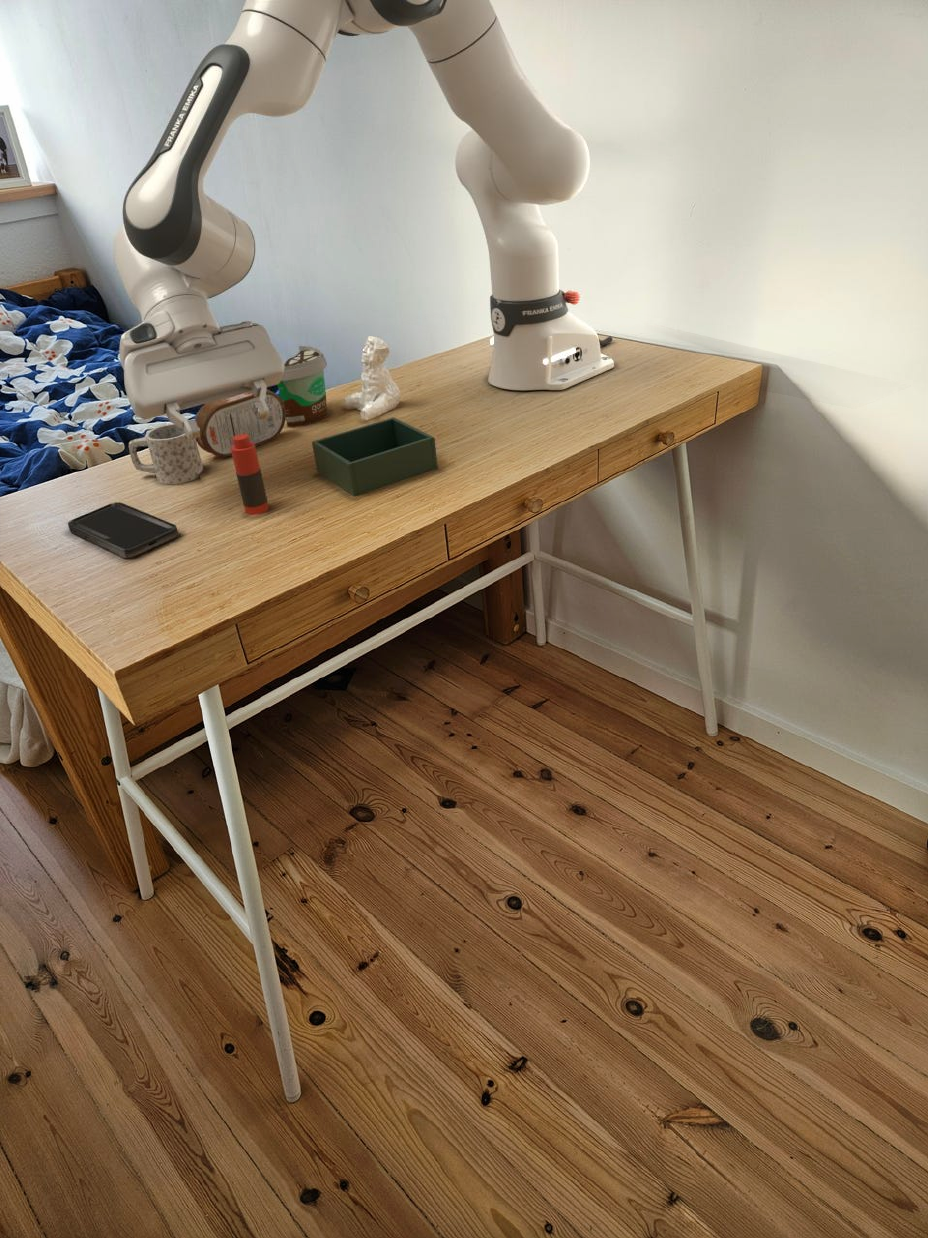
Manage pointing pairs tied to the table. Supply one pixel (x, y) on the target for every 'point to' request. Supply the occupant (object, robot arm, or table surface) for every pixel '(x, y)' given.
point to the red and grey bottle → (249, 475)
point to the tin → (238, 422)
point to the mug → (169, 455)
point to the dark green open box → (375, 455)
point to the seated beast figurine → (374, 383)
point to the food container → (304, 387)
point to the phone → (123, 529)
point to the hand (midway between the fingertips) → (230, 426)
